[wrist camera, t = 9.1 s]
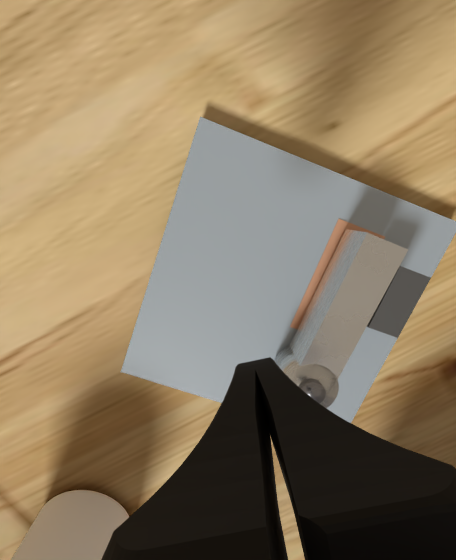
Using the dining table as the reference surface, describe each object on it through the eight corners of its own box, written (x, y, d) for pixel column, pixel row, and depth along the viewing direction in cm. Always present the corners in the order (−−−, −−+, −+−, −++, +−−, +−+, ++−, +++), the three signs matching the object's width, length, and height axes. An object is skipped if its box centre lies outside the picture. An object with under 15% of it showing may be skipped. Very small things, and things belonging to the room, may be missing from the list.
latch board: (448, 222, 19) (505, 225, 16) (336, 430, 23) (359, 474, 20) (201, 121, 18) (195, 97, 14) (125, 364, 22) (104, 398, 18)
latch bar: (310, 393, 21) (326, 426, 18) (266, 378, 21) (274, 409, 18) (387, 246, 18) (422, 254, 15) (338, 226, 18) (363, 229, 15)
